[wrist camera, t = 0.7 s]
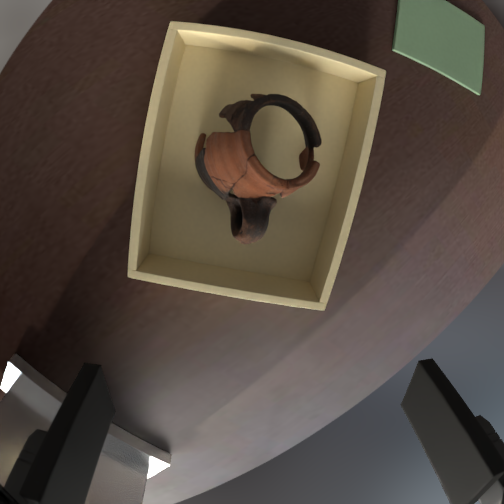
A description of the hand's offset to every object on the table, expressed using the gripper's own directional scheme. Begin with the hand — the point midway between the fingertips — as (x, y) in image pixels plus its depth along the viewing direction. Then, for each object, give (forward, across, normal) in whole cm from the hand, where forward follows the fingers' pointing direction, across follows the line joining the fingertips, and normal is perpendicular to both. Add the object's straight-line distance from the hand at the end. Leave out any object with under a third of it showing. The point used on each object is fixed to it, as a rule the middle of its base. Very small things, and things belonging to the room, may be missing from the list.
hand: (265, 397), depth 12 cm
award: (+20, -25, -29) cm, 43 cm away
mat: (+20, +20, +24) cm, 37 cm away
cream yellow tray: (+20, 0, +7) cm, 21 cm away
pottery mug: (+20, 0, +7) cm, 21 cm away
